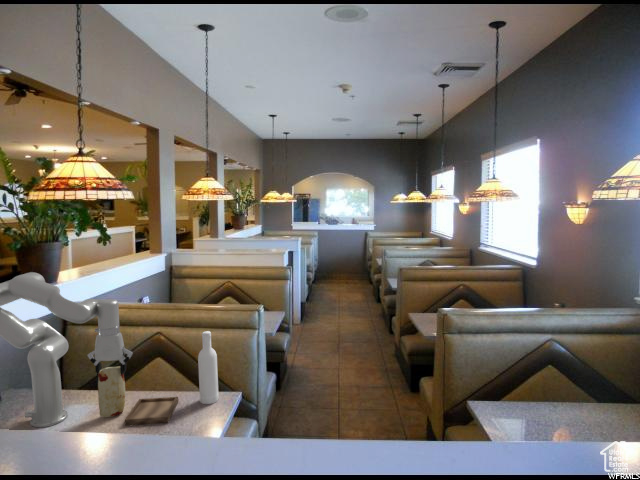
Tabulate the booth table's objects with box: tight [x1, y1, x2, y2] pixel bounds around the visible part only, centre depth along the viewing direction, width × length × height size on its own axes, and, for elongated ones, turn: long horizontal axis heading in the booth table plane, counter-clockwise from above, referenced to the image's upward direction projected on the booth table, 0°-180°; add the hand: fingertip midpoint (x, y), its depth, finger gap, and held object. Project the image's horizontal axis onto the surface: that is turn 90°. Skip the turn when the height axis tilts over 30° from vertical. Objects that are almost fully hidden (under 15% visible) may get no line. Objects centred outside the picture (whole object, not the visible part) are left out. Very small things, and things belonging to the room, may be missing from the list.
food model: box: [97, 365, 126, 418], centre depth 176 cm, size 10×7×20 cm
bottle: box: [197, 330, 220, 405], centre depth 188 cm, size 8×8×30 cm
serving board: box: [124, 396, 179, 427], centre depth 178 cm, size 16×18×2 cm
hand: (111, 373), depth 175 cm, fingers closed on food model, 8 cm apart
